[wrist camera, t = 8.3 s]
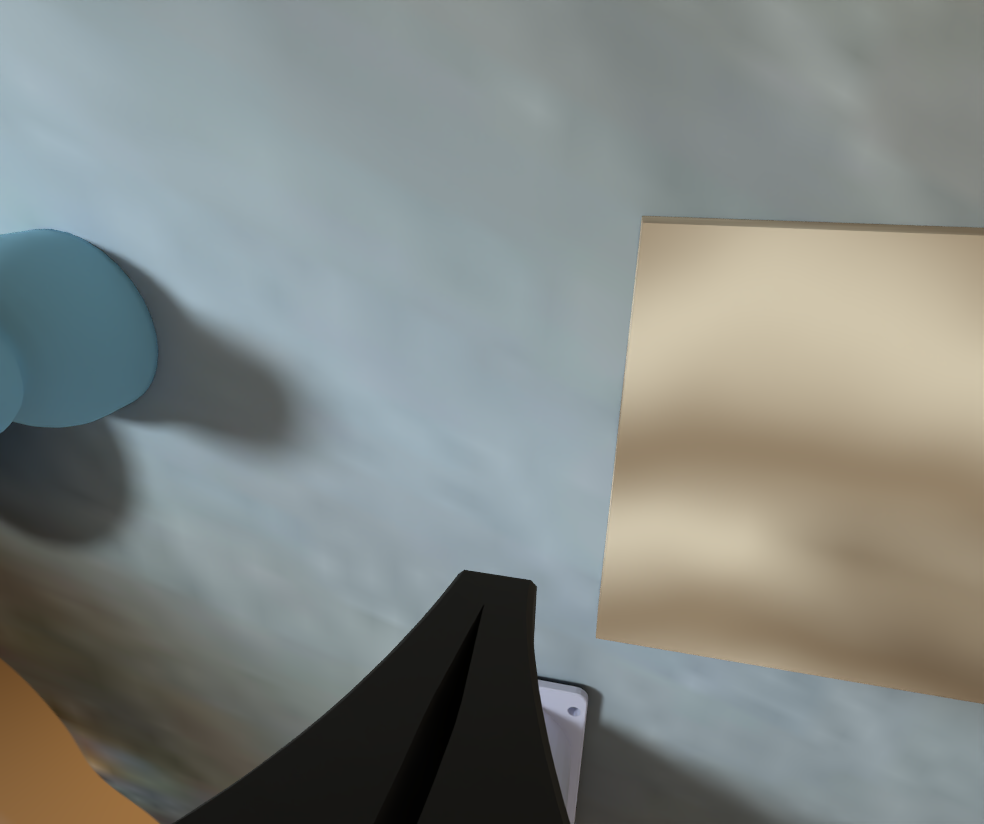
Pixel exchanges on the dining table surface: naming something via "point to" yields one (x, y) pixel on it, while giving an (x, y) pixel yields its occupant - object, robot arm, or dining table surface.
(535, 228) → the dining table surface
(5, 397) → the light blue lumpy shape
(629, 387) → the ash board
